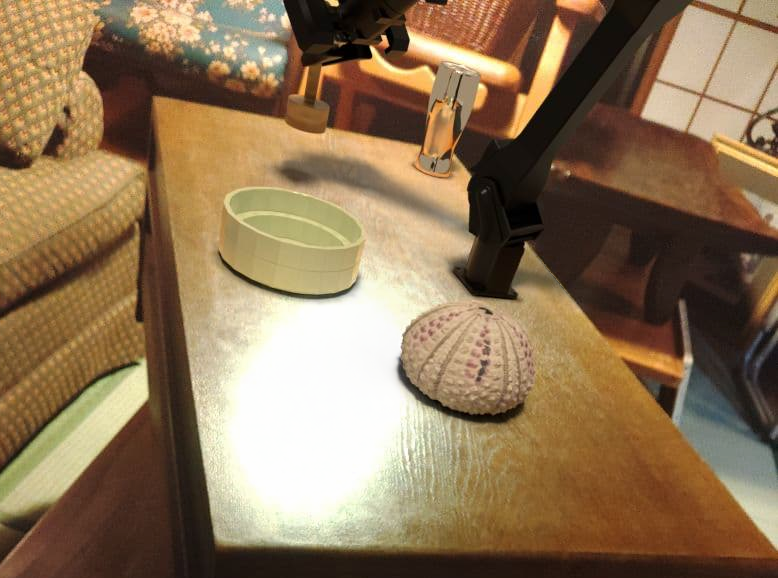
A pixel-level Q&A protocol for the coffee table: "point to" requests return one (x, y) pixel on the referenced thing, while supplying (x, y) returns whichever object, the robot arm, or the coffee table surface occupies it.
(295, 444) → the coffee table surface
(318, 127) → the wooden stamp
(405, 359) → the sea urchin shell
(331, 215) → the bowl
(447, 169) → the beer glass
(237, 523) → the coffee table surface
